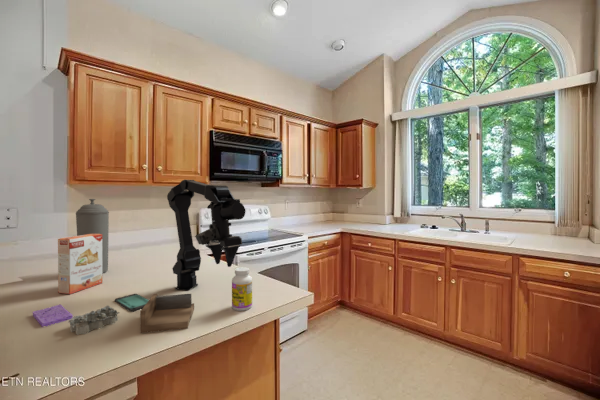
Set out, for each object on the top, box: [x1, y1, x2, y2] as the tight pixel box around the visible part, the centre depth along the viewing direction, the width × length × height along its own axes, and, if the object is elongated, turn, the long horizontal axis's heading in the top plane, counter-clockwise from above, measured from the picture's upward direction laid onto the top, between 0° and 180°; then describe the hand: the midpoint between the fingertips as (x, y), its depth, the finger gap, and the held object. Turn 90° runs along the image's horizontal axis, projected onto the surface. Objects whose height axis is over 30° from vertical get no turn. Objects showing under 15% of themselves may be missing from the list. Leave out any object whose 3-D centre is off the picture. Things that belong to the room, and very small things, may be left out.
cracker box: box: [57, 234, 103, 295], centre depth 111 cm, size 14×6×21 cm, turn 168°
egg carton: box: [67, 305, 120, 336], centre depth 81 cm, size 11×8×4 cm
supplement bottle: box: [231, 266, 253, 312], centre depth 93 cm, size 7×7×13 cm
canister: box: [75, 198, 110, 274], centre depth 132 cm, size 13×13×35 cm
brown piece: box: [139, 293, 195, 334], centre depth 84 cm, size 13×12×6 cm
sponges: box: [32, 303, 74, 328], centre depth 86 cm, size 7×13×2 cm, turn 53°
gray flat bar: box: [156, 293, 193, 311], centre depth 88 cm, size 1×10×4 cm, turn 103°
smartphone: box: [114, 293, 150, 312], centre depth 97 cm, size 7×1×15 cm
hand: (223, 265), depth 98 cm, fingers open, 9 cm apart
